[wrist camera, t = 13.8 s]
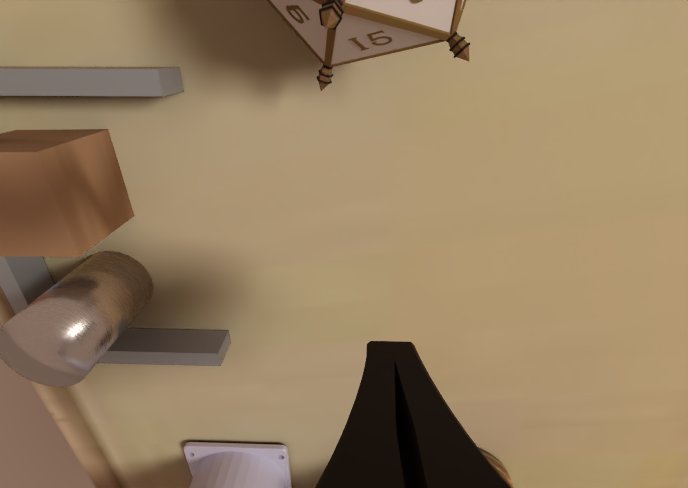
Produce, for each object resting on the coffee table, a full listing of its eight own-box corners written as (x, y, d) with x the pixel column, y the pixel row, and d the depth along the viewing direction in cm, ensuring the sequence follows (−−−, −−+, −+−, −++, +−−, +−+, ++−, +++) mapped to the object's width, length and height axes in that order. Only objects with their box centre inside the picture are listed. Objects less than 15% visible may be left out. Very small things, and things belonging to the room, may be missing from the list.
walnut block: (135, 215, 20) (79, 256, 16) (53, 215, 20) (-22, 256, 16) (109, 129, 18) (36, 152, 14) (18, 129, 18) (-80, 152, 14)
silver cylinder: (162, 305, 22) (102, 385, 17) (100, 309, 23) (22, 388, 17) (139, 248, 21) (64, 317, 15) (72, 253, 21) (-25, 322, 16)
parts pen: (230, 342, 24) (220, 366, 22) (63, 338, 24) (40, 361, 22) (179, 66, 16) (157, 69, 14) (-63, 66, 16) (-114, 68, 15)
